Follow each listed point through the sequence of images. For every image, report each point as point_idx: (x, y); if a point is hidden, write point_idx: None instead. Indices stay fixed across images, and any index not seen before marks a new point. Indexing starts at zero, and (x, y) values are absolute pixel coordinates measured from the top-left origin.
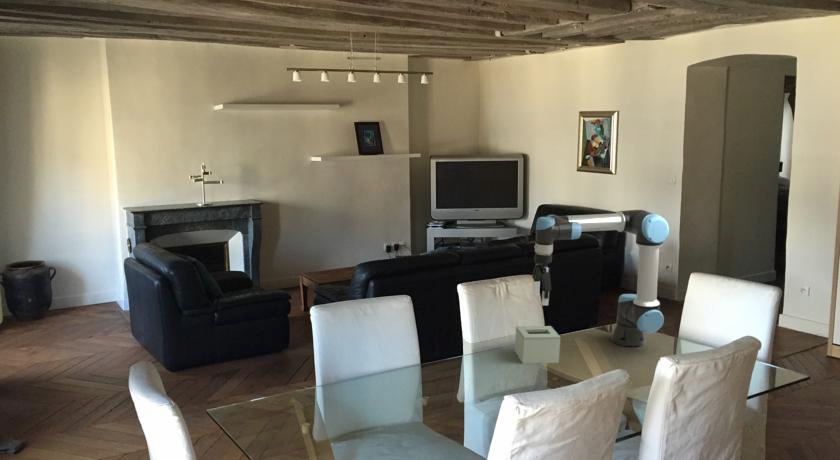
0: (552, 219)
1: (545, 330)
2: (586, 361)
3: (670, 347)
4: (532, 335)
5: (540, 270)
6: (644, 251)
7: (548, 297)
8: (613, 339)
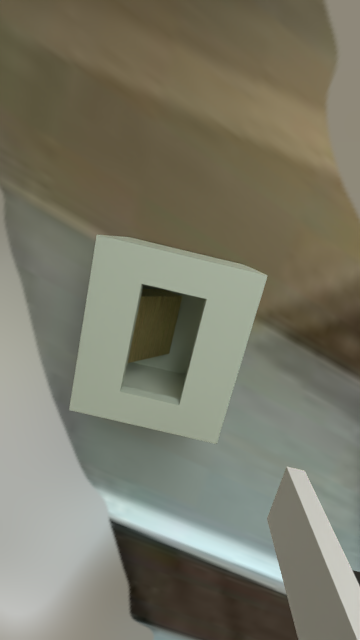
0: None
1: (140, 291)
2: (262, 138)
3: None
4: (203, 398)
5: None
6: None
7: (342, 559)
8: None
